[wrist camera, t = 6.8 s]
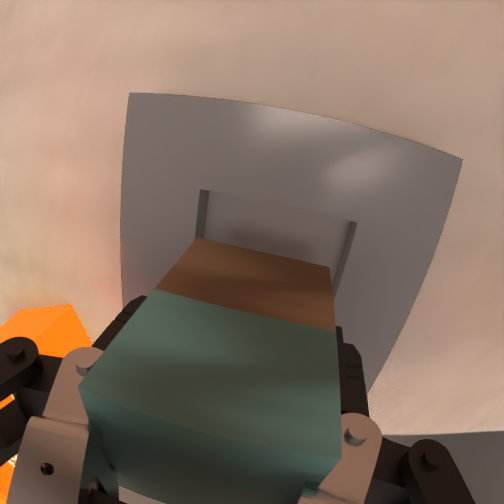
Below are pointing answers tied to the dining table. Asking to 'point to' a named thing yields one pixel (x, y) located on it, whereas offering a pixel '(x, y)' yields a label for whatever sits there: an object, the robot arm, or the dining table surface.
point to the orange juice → (42, 350)
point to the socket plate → (285, 202)
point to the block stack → (223, 381)
